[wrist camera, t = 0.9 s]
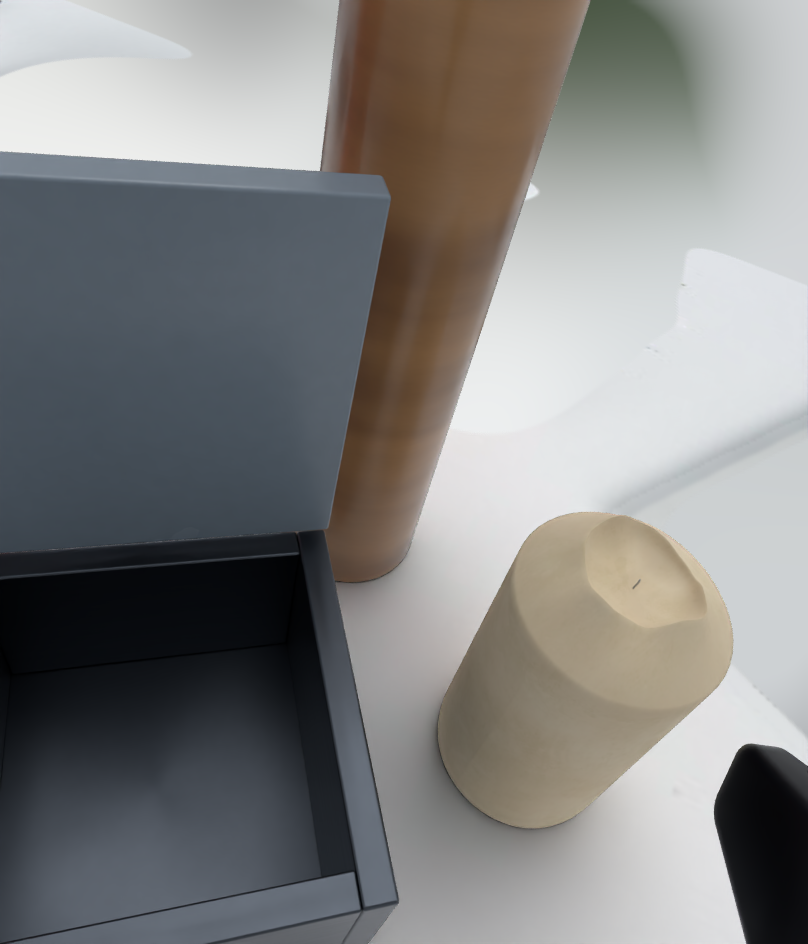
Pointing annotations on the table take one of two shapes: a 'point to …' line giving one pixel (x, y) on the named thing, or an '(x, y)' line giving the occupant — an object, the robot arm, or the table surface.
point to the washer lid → (177, 346)
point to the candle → (580, 667)
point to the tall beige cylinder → (430, 226)
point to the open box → (184, 749)
